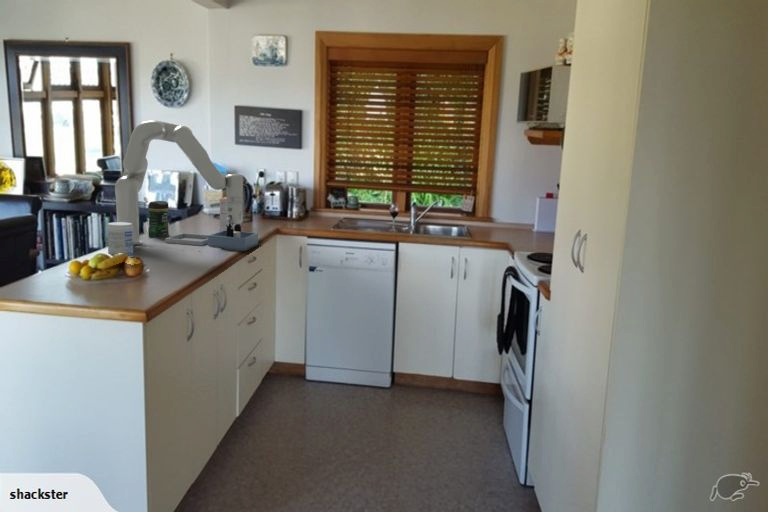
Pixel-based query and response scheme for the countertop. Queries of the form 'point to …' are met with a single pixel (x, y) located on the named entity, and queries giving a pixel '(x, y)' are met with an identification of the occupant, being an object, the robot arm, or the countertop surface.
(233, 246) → the bin
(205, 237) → the tray
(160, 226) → the coffee jar
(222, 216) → the cracker box
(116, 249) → the supplement tub
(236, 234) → the stone block
